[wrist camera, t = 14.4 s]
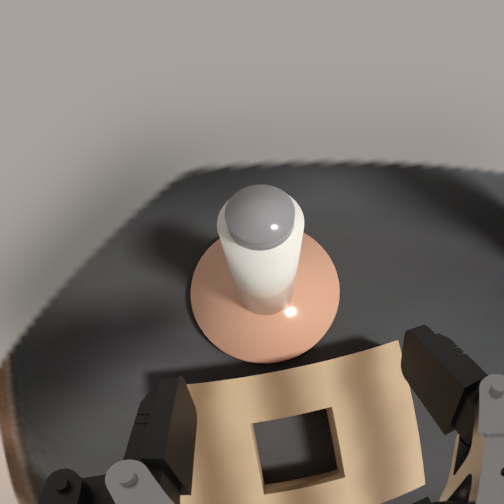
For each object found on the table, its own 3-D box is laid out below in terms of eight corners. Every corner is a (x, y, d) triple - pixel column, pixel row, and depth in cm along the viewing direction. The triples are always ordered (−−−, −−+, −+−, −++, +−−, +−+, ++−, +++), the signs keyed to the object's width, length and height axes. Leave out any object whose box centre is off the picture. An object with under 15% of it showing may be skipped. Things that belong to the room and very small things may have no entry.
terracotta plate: (316, 217, 32) (317, 213, 31) (354, 345, 25) (356, 343, 24) (187, 240, 31) (185, 236, 31) (201, 374, 25) (199, 374, 24)
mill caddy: (385, 346, 25) (397, 340, 22) (411, 477, 18) (425, 484, 15) (171, 388, 24) (159, 386, 22) (197, 522, 18) (188, 534, 15)
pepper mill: (287, 258, 29) (292, 171, 18) (299, 309, 26) (316, 241, 16) (233, 268, 29) (210, 185, 18) (242, 320, 26) (219, 259, 16)
